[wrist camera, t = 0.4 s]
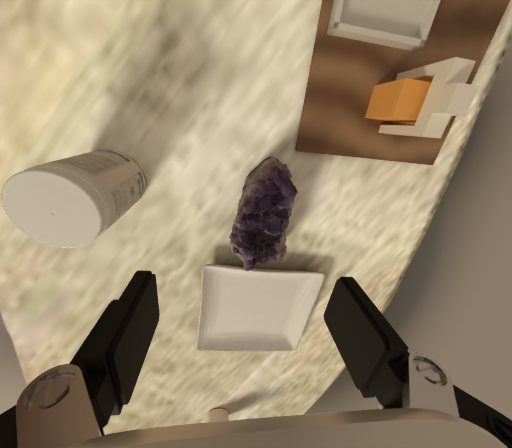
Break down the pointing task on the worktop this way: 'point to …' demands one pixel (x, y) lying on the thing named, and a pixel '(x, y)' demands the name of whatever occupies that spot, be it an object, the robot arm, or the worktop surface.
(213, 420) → the milk bottle
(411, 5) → the tray
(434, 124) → the beige blocky piece
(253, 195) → the geode
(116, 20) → the worktop surface
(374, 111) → the orange block
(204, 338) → the square plate
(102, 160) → the supplement tub
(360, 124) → the board
